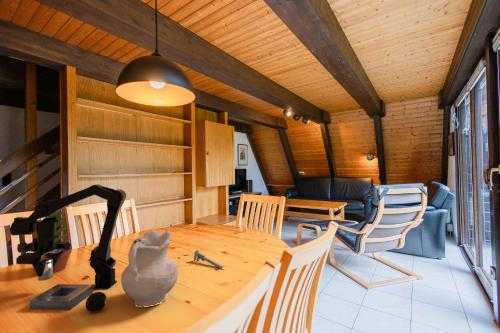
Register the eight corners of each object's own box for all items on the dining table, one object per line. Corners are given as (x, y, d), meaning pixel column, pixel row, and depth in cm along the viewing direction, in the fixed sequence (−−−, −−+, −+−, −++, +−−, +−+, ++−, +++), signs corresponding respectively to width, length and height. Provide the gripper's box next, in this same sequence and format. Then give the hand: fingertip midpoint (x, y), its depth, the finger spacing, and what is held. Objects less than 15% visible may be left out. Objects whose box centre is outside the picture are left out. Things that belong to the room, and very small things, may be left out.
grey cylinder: (55, 275, 98) (55, 258, 98) (46, 280, 94) (46, 262, 94) (44, 275, 98) (44, 257, 98) (34, 280, 94) (34, 262, 94)
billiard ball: (89, 307, 85) (90, 289, 86) (108, 305, 87) (109, 287, 87) (82, 317, 80) (82, 298, 80) (102, 314, 81) (103, 296, 81)
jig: (93, 292, 95) (93, 283, 96) (70, 310, 83) (70, 300, 84) (58, 291, 96) (58, 283, 96) (29, 309, 84) (29, 299, 84)
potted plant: (28, 279, 106) (29, 209, 106) (35, 267, 119) (36, 205, 119) (70, 272, 114) (71, 207, 114) (73, 261, 127) (74, 203, 127)
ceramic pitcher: (166, 321, 80) (174, 243, 80) (103, 318, 78) (111, 239, 79) (180, 289, 101) (185, 228, 102) (131, 286, 100) (137, 225, 100)
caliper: (193, 261, 130) (193, 249, 130) (195, 260, 131) (195, 248, 131) (224, 270, 118) (224, 257, 118) (225, 269, 119) (225, 256, 119)
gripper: (46, 228, 106) (45, 264, 106) (1, 240, 87) (0, 284, 87) (71, 228, 106) (71, 265, 105) (32, 240, 87) (31, 285, 87)
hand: (45, 274), depth 96 cm, fingers closed on grey cylinder, 4 cm apart
